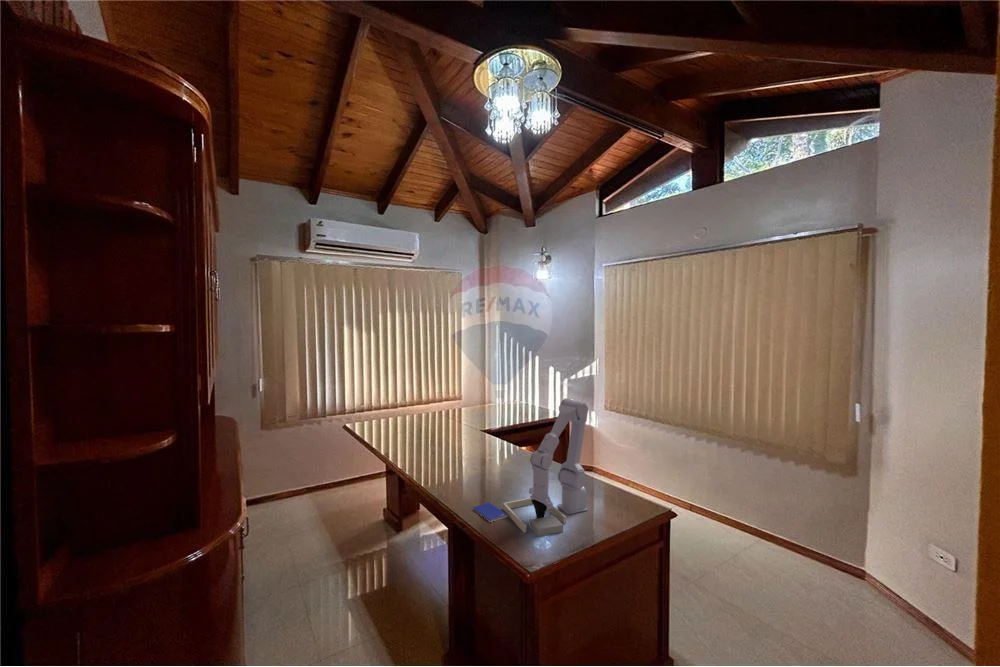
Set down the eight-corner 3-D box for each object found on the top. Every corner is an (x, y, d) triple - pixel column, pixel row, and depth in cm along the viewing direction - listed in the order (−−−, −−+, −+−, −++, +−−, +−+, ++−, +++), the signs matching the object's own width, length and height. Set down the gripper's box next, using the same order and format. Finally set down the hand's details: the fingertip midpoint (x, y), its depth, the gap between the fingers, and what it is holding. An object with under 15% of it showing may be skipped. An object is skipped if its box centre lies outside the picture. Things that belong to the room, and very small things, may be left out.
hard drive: (507, 514, 145) (489, 501, 156) (490, 520, 141) (473, 507, 151) (507, 518, 146) (489, 505, 156) (490, 524, 141) (473, 511, 151)
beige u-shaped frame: (540, 501, 158) (540, 495, 158) (566, 523, 141) (566, 516, 141) (502, 509, 152) (502, 502, 151) (524, 532, 134) (524, 525, 134)
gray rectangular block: (554, 523, 142) (554, 515, 142) (563, 533, 135) (563, 524, 135) (529, 527, 139) (529, 519, 139) (537, 537, 132) (537, 529, 132)
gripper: (522, 477, 146) (522, 512, 146) (540, 493, 133) (540, 531, 133) (538, 475, 149) (538, 509, 149) (558, 490, 135) (557, 527, 136)
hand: (540, 519), depth 141 cm, fingers closed
